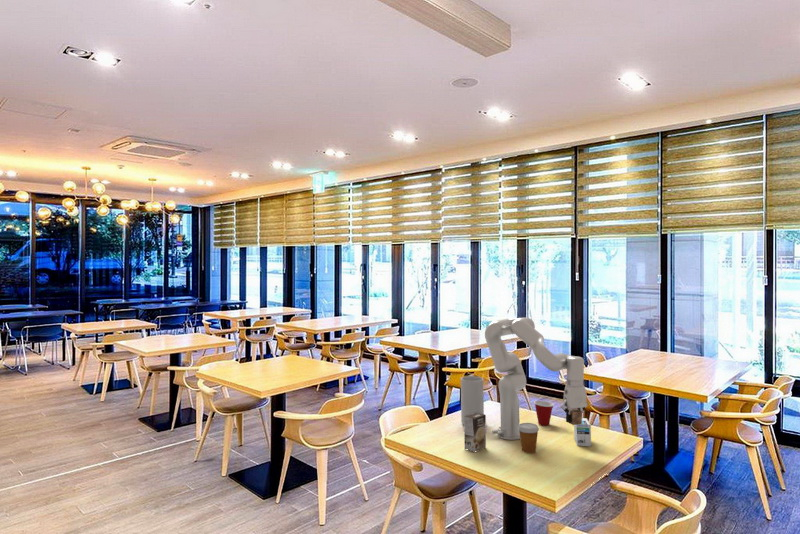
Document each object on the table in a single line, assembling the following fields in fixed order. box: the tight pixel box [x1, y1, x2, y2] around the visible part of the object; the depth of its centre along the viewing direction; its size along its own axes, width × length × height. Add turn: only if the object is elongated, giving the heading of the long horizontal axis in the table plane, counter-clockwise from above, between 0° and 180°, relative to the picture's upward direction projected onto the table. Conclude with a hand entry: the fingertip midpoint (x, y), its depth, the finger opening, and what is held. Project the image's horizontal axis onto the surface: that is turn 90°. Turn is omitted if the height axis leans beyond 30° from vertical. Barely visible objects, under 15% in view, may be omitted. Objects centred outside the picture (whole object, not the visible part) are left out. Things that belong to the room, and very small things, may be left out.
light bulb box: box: [573, 417, 592, 447], centre depth 244 cm, size 11×7×11 cm, turn 168°
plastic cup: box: [533, 400, 555, 427], centre depth 273 cm, size 11×11×12 cm
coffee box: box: [463, 413, 487, 453], centre depth 238 cm, size 9×6×16 cm
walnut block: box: [565, 408, 583, 426], centre depth 233 cm, size 5×5×6 cm
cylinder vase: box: [460, 375, 485, 425], centre depth 277 cm, size 12×12×25 cm
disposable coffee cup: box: [518, 422, 540, 454], centre depth 234 cm, size 10×10×12 cm
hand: (573, 420), depth 233 cm, fingers closed on walnut block, 5 cm apart
